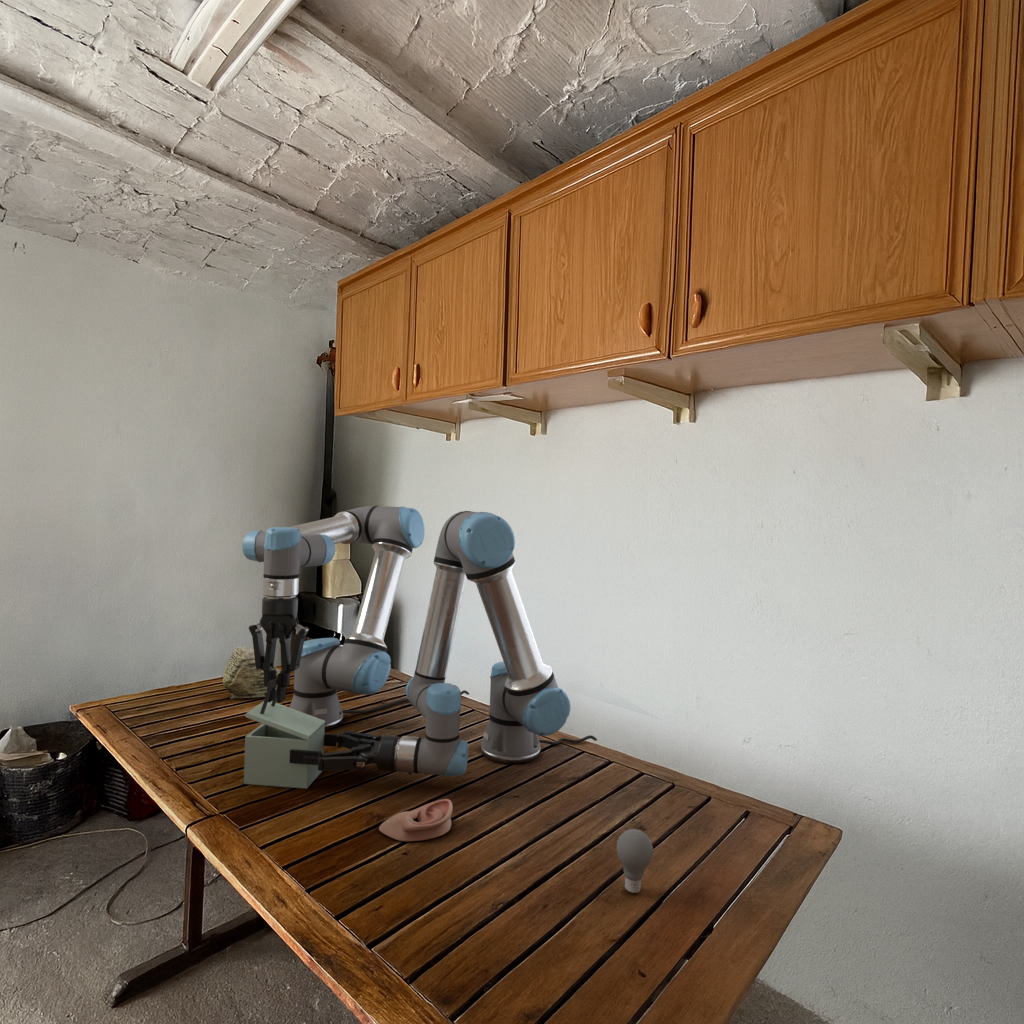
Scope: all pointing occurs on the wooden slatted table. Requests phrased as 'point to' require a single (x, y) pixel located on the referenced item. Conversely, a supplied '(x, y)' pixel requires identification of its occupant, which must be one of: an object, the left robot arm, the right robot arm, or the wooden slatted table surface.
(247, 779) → the chest
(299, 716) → the lid
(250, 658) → the fossil
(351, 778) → the wooden slatted table surface
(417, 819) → the anatomical model
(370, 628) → the left robot arm
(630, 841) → the light bulb
